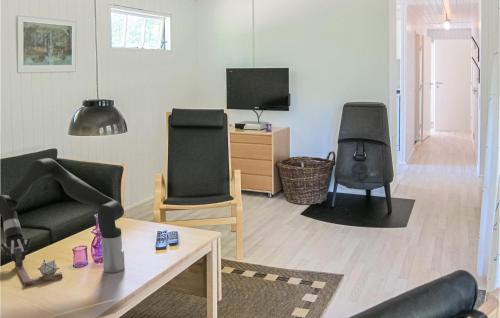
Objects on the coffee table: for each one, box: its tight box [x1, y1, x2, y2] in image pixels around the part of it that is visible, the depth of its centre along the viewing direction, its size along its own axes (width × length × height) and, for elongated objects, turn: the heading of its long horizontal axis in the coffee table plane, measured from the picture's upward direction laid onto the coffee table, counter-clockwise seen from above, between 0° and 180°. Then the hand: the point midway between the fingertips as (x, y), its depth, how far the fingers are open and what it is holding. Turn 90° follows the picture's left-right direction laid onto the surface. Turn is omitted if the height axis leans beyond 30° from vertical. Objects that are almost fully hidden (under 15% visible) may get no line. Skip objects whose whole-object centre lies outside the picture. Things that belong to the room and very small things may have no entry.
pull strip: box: [13, 246, 64, 288], centre depth 231 cm, size 16×26×10 cm, turn 34°
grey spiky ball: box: [37, 259, 60, 276], centre depth 227 cm, size 9×8×10 cm
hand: (19, 260), depth 236 cm, fingers closed on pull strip, 3 cm apart
